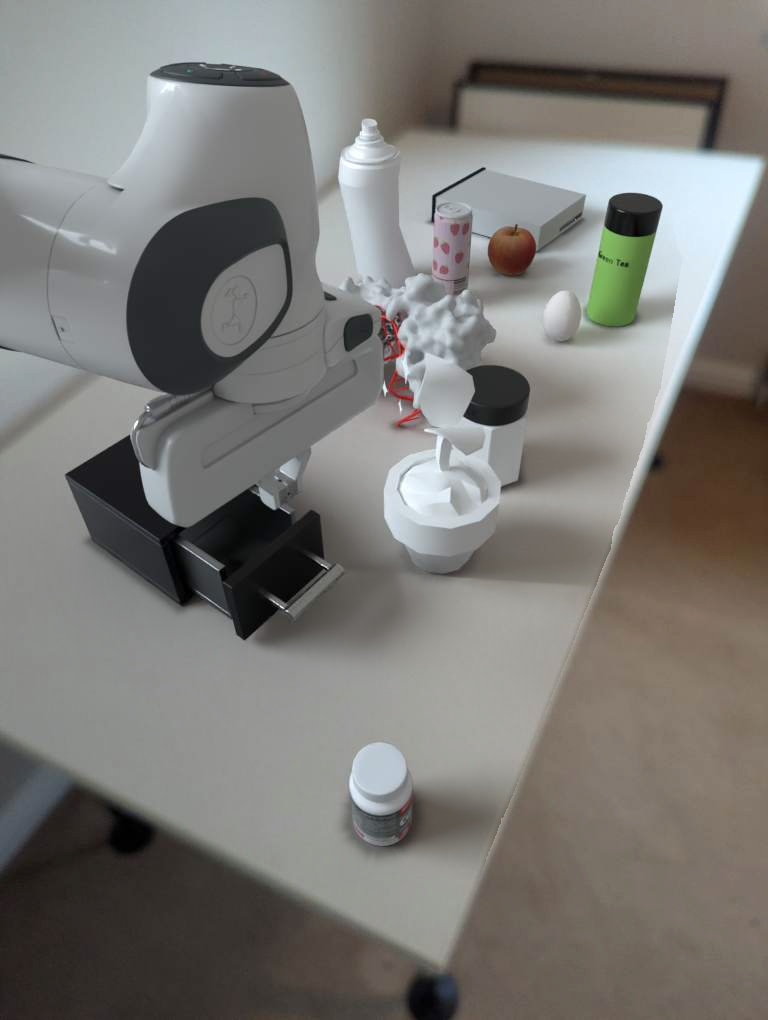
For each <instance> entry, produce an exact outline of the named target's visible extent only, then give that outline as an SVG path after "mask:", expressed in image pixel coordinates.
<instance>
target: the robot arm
mask: <svg viewBox="0 0 768 1020" xmlns="http://www.w3.org/2000/svg"><path fill="white" fill-rule="evenodd" d="M145 96H146V97H145V98H146V99H145V100H146V101H145V102H146V115H147V116H146V120H145V123H144V126H143V129H142V132H141V134H140V136H139V138H138V139H137V141H136V143H135V146H134V147H133V149H132V151H131V153H130V154H129V155H128V157H127V159H125V161H124V162H123V164H121V166H120V167H119V168H118V170H116V172H114V173H113V174H112V175H110V176H109V177H105V176H100V175H97V174H96V175H95V174H90V173H85V172H80V171H75V170H71V169H65V168H59V167H53V166H50V165H43V164H38V163H36V162H33V161H30V160H28V159H24V158H20V157H16V156H12V155H9V154H4V153H0V349H1V350H6V351H10V352H18V353H23V354H27V355H30V356H33V357H37V358H40V359H44V360H47V361H50V362H54V363H58V364H61V365H63V366H68V367H71V368H75V369H77V370H80V371H84V372H88V373H91V374H94V375H97V376H101V377H105V378H108V379H112V380H114V381H118V382H122V383H125V384H128V385H132V386H135V387H139V388H143V389H146V390H150V391H154V392H158V393H165V394H161V395H158V396H156V397H155V398H152V399H151V400H150V401H148V402H147V403H146V404H145V405H144V408H143V409H144V411H143V412H142V413H141V414H140V416H139V417H138V418H137V419H136V421H135V423H134V425H133V426H132V427H131V429H130V432H129V435H130V437H131V441H132V444H133V448H134V451H135V454H136V456H137V459H138V460H139V464H140V472H141V478H142V483H143V488H144V492H145V496H146V499H147V501H148V503H149V505H150V506H151V507H152V508H153V509H154V510H155V511H156V512H157V513H158V514H159V515H161V516H162V517H163V518H165V519H166V520H167V521H169V522H171V523H173V524H175V525H178V526H181V527H186V528H187V527H190V526H192V525H194V524H196V523H197V522H198V521H200V520H201V519H203V518H204V517H206V516H207V515H209V514H210V513H212V512H213V511H215V510H216V509H218V508H219V507H221V506H222V505H224V504H225V503H227V502H228V501H230V500H231V499H233V498H234V497H236V496H237V495H239V494H240V493H242V492H243V491H245V490H246V489H248V488H249V487H251V486H252V485H254V484H256V485H257V486H258V487H259V492H260V497H261V500H262V501H263V503H264V504H266V505H267V506H268V507H270V508H271V509H273V510H276V509H277V508H279V507H280V506H281V505H283V504H284V503H285V504H286V503H287V502H288V501H290V500H291V499H293V498H294V497H296V496H297V495H299V494H300V493H302V492H303V490H304V485H303V478H302V477H303V476H304V473H305V471H306V469H307V465H308V463H309V461H310V458H311V455H312V447H313V446H314V445H316V444H317V443H318V442H321V440H323V439H324V438H326V437H328V436H329V435H330V434H332V433H334V432H335V431H336V430H338V429H339V428H341V427H342V426H344V425H346V424H347V423H349V422H350V421H352V420H353V419H355V418H356V417H358V416H360V415H361V414H362V413H364V412H366V411H367V410H368V409H370V408H371V407H373V406H374V405H375V404H376V403H377V401H378V400H379V398H380V396H381V393H382V391H383V384H384V376H385V375H384V366H383V350H382V343H381V340H380V338H379V336H378V335H377V334H378V333H379V331H380V328H381V311H380V309H379V308H377V307H376V306H374V305H372V304H371V303H369V302H367V301H365V300H363V299H361V298H359V297H357V296H355V295H353V294H351V293H349V292H346V291H344V290H342V289H339V287H337V286H335V285H334V286H333V285H332V284H328V283H325V282H322V280H321V279H320V277H319V274H318V271H317V264H316V262H317V261H316V258H317V257H316V256H317V250H318V246H319V241H320V232H321V231H320V229H321V228H320V216H319V202H318V194H317V193H318V192H317V183H316V174H315V168H314V162H313V155H312V149H311V143H310V139H309V138H310V137H309V133H308V129H307V128H308V127H307V124H306V120H305V116H304V112H303V109H302V106H301V102H300V99H299V97H298V94H297V92H296V89H295V88H294V86H293V85H292V84H291V82H289V81H287V80H286V79H285V78H283V77H282V76H281V75H280V74H278V73H275V72H273V71H270V70H268V69H264V68H262V67H253V66H246V65H244V66H243V65H237V64H228V63H218V64H217V63H207V62H205V61H204V62H203V61H190V62H189V61H185V62H175V63H170V64H169V63H168V64H166V65H162V66H160V67H159V68H157V69H155V70H153V71H151V72H150V73H149V74H148V75H147V78H146V88H145ZM278 469H279V470H278ZM277 470H278V471H277ZM275 471H277V472H275Z"/></svg>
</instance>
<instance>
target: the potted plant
mask: <svg viewBox="0 0 768 1020" xmlns="http://www.w3.org/2000/svg"><path fill="white" fill-rule="evenodd" d="M401 362H402V364H403V367H404V372H405V379H404V381H405V383H407V375H408V373H409V374H410V372H409V370H408V366H407V360H406V349H405V358H404V360H403V361H402V360H401ZM382 391H383V393H384V396H386V394H387V393H389V392H388V388H387V386H386V382H385V379H383V389H382ZM474 393H475V388H474V383H473V378H472V375H470V374H469V373H467V372H466V371H465V370H463V369H462V368H460V367H459V366H458V365H456V364H455V363H453V362H450V361H447V360H445V359H442V358H439V357H437V356H434V355H431V354H429V353H426V371H425V375H424V378H423V382H422V385H421V389H420V392H419V396H418V400H419V404H420V407H421V411H422V412H421V413H422V416H424V417H425V419H426V420H427V421H428V422H429V425H431V426H433V427H431V428H429V427H428V428H424V432H425V433H431V434H434V435H437V437H436V444H435V448H431V449H426V450H423V451H418V452H414V453H410V454H408V455H406V456H405V457H404V458H402V459H401V460H400V461H398V462H397V463H396V464H395V465H393V466H392V467H391V468H390V469H388V473H387V477H386V481H385V484H384V487H383V516H384V520H385V522H386V524H387V527H388V528H389V530H390V532H391V534H392V536H393V538H394V539H396V540H397V541H399V543H402V544H403V545H404V547H405V549H406V551H407V553H408V555H409V557H410V559H411V561H412V563H413V564H414V565H415V566H417V567H418V568H420V569H421V570H423V571H424V572H426V573H427V572H428V573H434V574H440V575H445V574H448V573H451V572H455V571H458V570H460V569H461V568H462V567H463V566H464V565H465V564H466V563H467V562H468V561H469V560H470V559H471V556H473V553H475V550H479V548H480V547H481V546H482V545H483V544H484V543H485V542H486V541H487V540H488V539H489V538H491V536H493V535H494V534H495V533H496V528H497V521H498V515H499V514H498V513H499V505H500V498H501V488H502V486H501V482H500V480H499V479H498V477H497V476H496V474H495V473H494V471H493V470H492V468H491V467H490V466H489V464H488V463H486V462H484V461H482V460H480V459H478V458H476V457H474V456H472V455H470V454H472V453H474V452H476V451H478V450H480V449H482V448H483V445H484V440H485V432H484V430H483V428H482V427H452V426H455V425H458V423H459V422H460V420H461V418H462V416H463V415H464V413H465V411H466V409H467V407H468V405H469V403H470V401H471V399H472V397H473V395H474ZM397 404H398V409H399V415H401V413H402V411H404V410H403V408H402V403H401V401H399V402H397ZM452 444H453V445H454V446H455V447H456V448H458V449H459V450H460V451H455V450H452Z"/></svg>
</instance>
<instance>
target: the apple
mask: <svg viewBox="0 0 768 1020" xmlns="http://www.w3.org/2000/svg"><path fill="white" fill-rule="evenodd" d="M517 226H518V224H515V227H509V226H507V227H503V228H501V229H499V230H497V231H496V232H495V233H494V234H493V236H492V237H490V239H489V242H488V244H487V258H488V262H489V263H490V264H491V267H492V268H493V269H494V270H495V272H497V273H498V274H501V275H504V276H516V275H520V274H522V273H524V272H525V271H526V270H528V268H529V267H531V264H532V263H533V261H534V258H535V257H536V253H537V251H536V242H535V239H534V237H533V236H532V234H531V233H530V232H529V231H528V230H526V229H523V228H518V227H517Z"/></svg>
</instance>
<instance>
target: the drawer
mask: <svg viewBox="0 0 768 1020" xmlns="http://www.w3.org/2000/svg"><path fill="white" fill-rule="evenodd" d="M169 544H170V547H171V550H172V553H173V556H174V559H175V562H176V565H177V569H178V572H179V575H180V578H181V581H182V584H183V585H184V586H185V587H186V588H188V589H189V590H191V591H192V592H193V593H195V594H196V595H195V596H197V597H199V598H200V599H201V600H203V601H205V602H206V603H207V604H209V605H210V606H211V607H213V608H214V609H215V610H216V611H218V612H219V613H221V614H223V615H224V617H226V618H228V619H229V620H231V621H232V623H233V627H234V630H235V631H234V632H235V635H236V636H237V637H239V638H240V639H241V640H243V641H247V640H248V639H249V638H250V637H251V636H252V635H253V634H254V633H255V632H256V631H258V630H259V629H260V628H261V627H262V626H263V625H264V624H265V623H266V622H268V621H269V620H270V619H271V618H272V617H273V616H275V615H276V613H278V612H279V611H281V612H282V614H283V616H284V617H285V618H286V620H287V621H289V622H290V623H294V622H295V621H296V620H298V618H300V617H301V616H302V615H303V614H304V613H306V611H307V610H309V609H310V608H311V607H312V605H314V604H315V603H316V602H317V601H318V600H319V599H320V598H321V597H322V596H323V595H325V593H327V592H328V591H329V590H330V589H331V588H332V587H333V586H334V585H335V584H336V583H337V582H338V581H339V580H341V578H343V577H344V576H345V574H346V571H345V569H344V568H343V566H342V565H340V564H339V563H333V565H332V564H331V563H330V562H328V561H326V559H325V550H324V549H325V548H324V539H323V531H322V519H321V514H320V513H318V512H317V511H315V510H313V509H310V510H309V511H308V512H306V513H305V514H304V515H302V516H301V517H300V518H299V519H297V513H296V509H295V508H293V507H292V506H290V505H288V504H287V503H286V502H285V503H284V504H283V505H281V506H280V507H279V508H277V509H276V510H273V509H271V508H270V507H268V506H267V505H266V504H264V503H263V501H262V500H261V497H260V492H259V488H258V487H256V486H254V485H252V486H251V487H249V488H248V489H246V490H245V491H243V492H242V493H240V494H239V495H237V496H236V497H234V498H233V499H231V500H230V501H228V502H227V503H225V504H224V505H222V506H221V507H219V508H218V509H216V510H215V511H213V512H212V513H210V514H209V515H207V516H206V517H204V518H203V519H201V520H200V521H198V522H197V523H196V524H194V525H192V526H190V527H187V528H186V529H185V530H183V531H182V532H180V533H179V534H178V535H176V536H175V537H174V538H172V539H171V540H170V541H169ZM323 571H325V572H324V573H322V572H323ZM321 573H322V575H321V576H319V575H320V574H321ZM318 576H319V577H318ZM316 577H318V578H317V579H316V580H315V578H316ZM313 580H314V581H313ZM312 581H313V582H312ZM311 582H312V583H311ZM310 583H311V584H310ZM309 584H310V585H309ZM307 585H309V586H308V587H307V588H306V589H305V587H306V586H307ZM303 589H304V591H302V590H303ZM301 591H302V593H300V592H301ZM299 593H300V595H298V594H299ZM297 595H298V596H297ZM296 596H297V597H296ZM294 597H296V598H295V599H294V600H293V601H292V602H290V601H291V600H292V599H293V598H294ZM288 602H290V603H289V604H288Z"/></svg>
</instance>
